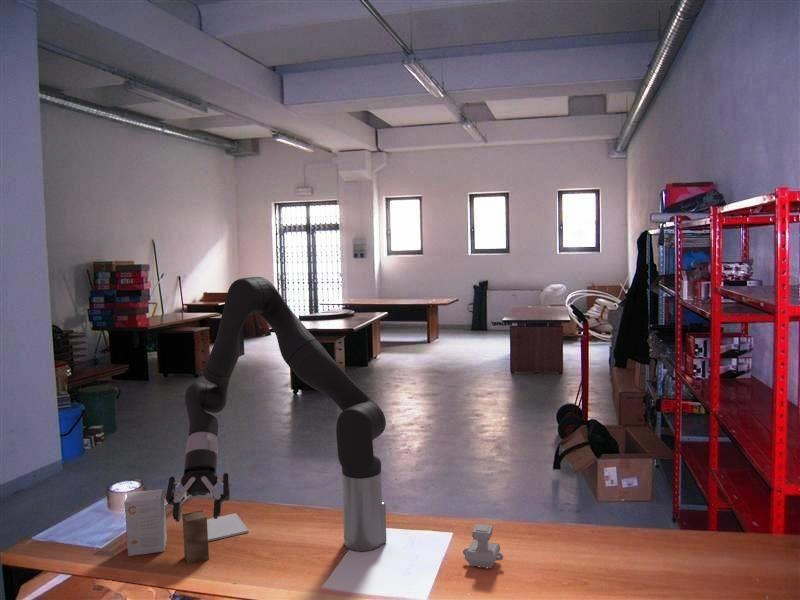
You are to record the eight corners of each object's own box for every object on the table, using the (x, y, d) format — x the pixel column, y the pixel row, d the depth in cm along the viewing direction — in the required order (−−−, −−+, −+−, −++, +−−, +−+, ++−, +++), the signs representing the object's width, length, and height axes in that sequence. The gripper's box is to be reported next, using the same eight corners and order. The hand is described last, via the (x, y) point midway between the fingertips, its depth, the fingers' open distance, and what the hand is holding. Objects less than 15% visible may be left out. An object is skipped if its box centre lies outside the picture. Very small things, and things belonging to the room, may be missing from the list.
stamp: (505, 560, 146) (505, 523, 145) (500, 574, 140) (500, 536, 139) (466, 554, 149) (465, 518, 148) (459, 568, 142) (458, 531, 142)
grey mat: (235, 515, 173) (235, 513, 173) (248, 532, 163) (248, 530, 163) (189, 525, 167) (188, 523, 167) (199, 543, 157) (199, 541, 157)
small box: (167, 540, 159) (164, 488, 158) (164, 552, 153) (161, 498, 152) (131, 544, 157) (128, 492, 156) (127, 557, 151) (124, 502, 150)
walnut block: (204, 551, 153) (202, 510, 152) (208, 559, 149) (206, 517, 148) (184, 556, 151) (182, 514, 150) (188, 564, 147) (186, 521, 146)
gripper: (168, 449, 158) (161, 515, 148) (229, 445, 160) (226, 510, 150) (174, 463, 164) (167, 527, 153) (232, 460, 166) (229, 522, 156)
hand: (196, 519), depth 152 cm, fingers open, 8 cm apart
